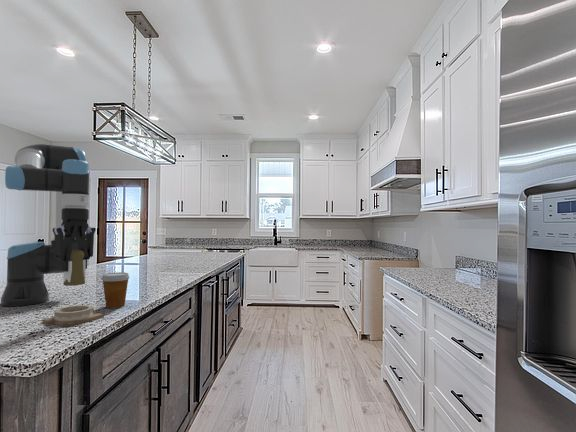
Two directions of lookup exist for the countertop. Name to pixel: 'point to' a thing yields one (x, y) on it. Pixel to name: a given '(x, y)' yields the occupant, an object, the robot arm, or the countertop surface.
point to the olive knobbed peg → (76, 269)
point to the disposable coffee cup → (115, 288)
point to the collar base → (72, 323)
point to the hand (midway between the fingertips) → (74, 280)
